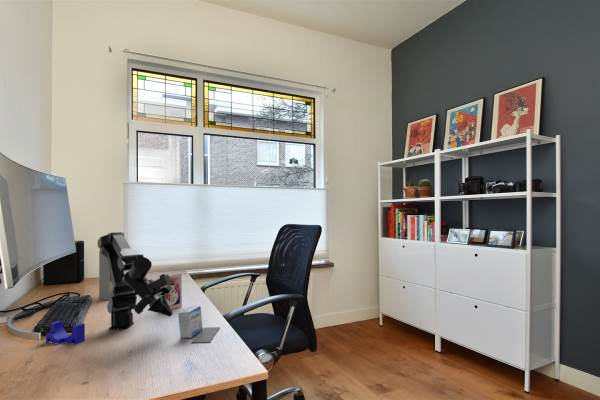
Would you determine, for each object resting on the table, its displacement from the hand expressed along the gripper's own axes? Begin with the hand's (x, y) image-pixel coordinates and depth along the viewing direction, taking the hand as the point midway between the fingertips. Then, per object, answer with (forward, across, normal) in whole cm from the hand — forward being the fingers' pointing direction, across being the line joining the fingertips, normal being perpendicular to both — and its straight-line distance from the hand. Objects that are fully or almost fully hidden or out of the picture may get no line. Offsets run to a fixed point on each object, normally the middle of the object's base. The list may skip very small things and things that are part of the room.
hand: (171, 315), depth 118 cm
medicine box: (+10, 0, 0) cm, 10 cm away
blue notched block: (-20, -4, +30) cm, 36 cm away
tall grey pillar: (-33, +58, +43) cm, 79 cm away
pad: (+14, -1, -4) cm, 14 cm away
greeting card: (-6, +34, +16) cm, 38 cm away
